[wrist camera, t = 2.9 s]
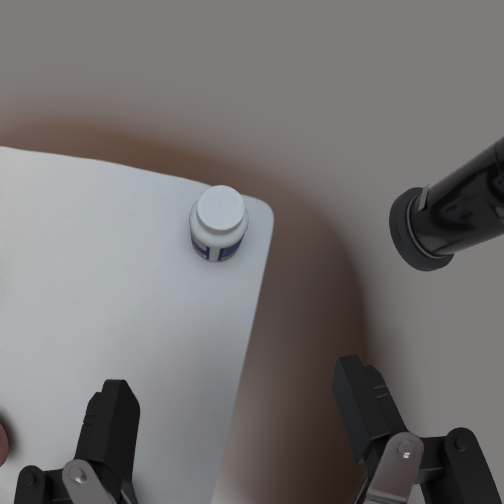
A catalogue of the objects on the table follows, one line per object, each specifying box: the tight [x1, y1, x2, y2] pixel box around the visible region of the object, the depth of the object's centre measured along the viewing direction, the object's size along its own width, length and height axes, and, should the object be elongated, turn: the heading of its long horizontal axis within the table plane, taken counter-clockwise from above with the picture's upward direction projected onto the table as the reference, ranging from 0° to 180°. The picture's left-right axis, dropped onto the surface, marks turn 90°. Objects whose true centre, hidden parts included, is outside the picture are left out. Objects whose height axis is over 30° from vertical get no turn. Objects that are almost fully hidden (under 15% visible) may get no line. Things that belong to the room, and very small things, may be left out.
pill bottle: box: [189, 186, 248, 262], centre depth 30 cm, size 5×5×10 cm
